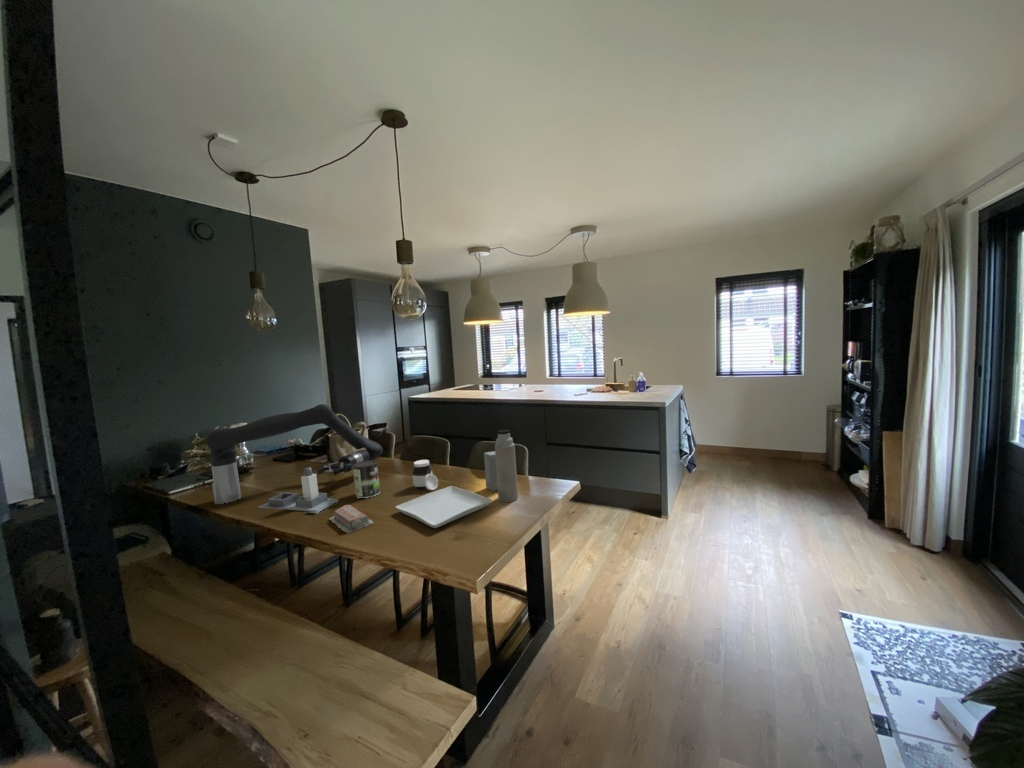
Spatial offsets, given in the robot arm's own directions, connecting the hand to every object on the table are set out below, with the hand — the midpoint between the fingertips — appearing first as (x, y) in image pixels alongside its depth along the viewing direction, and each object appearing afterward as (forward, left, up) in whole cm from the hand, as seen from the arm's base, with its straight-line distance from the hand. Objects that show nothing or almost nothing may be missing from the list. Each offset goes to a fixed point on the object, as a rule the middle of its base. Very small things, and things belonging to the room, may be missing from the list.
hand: (325, 472), depth 177 cm
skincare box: (+69, -28, -12) cm, 75 cm away
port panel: (-6, -9, -11) cm, 15 cm away
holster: (-18, +1, -11) cm, 21 cm away
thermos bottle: (+69, -42, -11) cm, 82 cm away
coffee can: (+16, -6, -12) cm, 21 cm away
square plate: (+43, -41, -12) cm, 61 cm away
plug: (-6, -8, -10) cm, 14 cm away
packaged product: (+10, -33, -12) cm, 37 cm away
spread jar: (+41, -11, -12) cm, 44 cm away
